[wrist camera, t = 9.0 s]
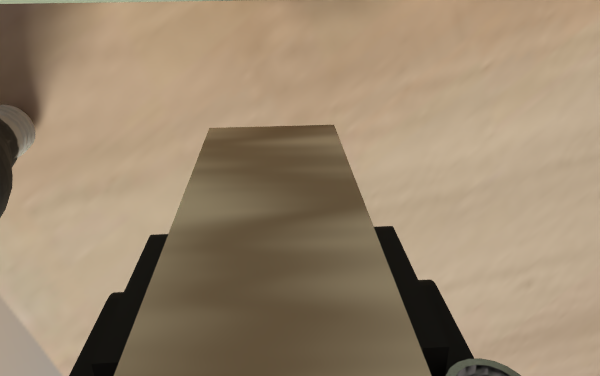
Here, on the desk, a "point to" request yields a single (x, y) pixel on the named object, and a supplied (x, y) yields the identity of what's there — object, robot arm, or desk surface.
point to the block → (272, 269)
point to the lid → (86, 1)
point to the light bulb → (12, 146)
